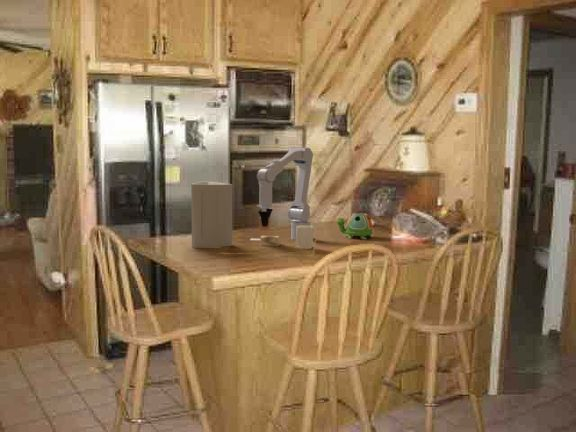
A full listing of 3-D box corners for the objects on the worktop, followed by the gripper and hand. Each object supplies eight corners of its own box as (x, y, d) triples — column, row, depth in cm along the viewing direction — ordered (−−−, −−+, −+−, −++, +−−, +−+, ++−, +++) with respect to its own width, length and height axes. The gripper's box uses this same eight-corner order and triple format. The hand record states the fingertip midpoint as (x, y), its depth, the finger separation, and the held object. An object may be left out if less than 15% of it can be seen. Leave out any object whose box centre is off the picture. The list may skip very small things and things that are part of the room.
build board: (286, 240, 284) (286, 239, 284) (283, 247, 266) (283, 246, 266) (249, 239, 286) (249, 238, 286) (243, 246, 267) (243, 245, 267)
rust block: (270, 227, 271) (270, 216, 270) (269, 229, 267) (269, 218, 266) (260, 227, 272) (260, 216, 271) (259, 229, 267) (259, 218, 266)
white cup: (315, 250, 261) (315, 227, 259) (297, 250, 259) (297, 228, 258) (311, 247, 268) (311, 225, 267) (294, 247, 267) (294, 225, 266)
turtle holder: (339, 234, 305) (340, 211, 303) (375, 236, 299) (375, 213, 298) (333, 238, 293) (334, 214, 292) (370, 240, 288) (370, 216, 286)
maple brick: (279, 243, 272) (279, 236, 272) (278, 245, 267) (278, 237, 267) (261, 243, 273) (261, 235, 272) (260, 245, 268) (260, 237, 267)
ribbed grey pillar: (181, 244, 271) (181, 182, 268) (209, 240, 281) (209, 181, 277) (205, 250, 257) (204, 185, 253) (233, 246, 267) (233, 184, 263)
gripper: (258, 193, 275) (258, 223, 276) (254, 197, 260) (254, 227, 262) (274, 194, 274) (273, 223, 276) (270, 197, 260) (270, 228, 262)
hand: (265, 225), depth 269 cm, fingers closed on rust block, 4 cm apart
